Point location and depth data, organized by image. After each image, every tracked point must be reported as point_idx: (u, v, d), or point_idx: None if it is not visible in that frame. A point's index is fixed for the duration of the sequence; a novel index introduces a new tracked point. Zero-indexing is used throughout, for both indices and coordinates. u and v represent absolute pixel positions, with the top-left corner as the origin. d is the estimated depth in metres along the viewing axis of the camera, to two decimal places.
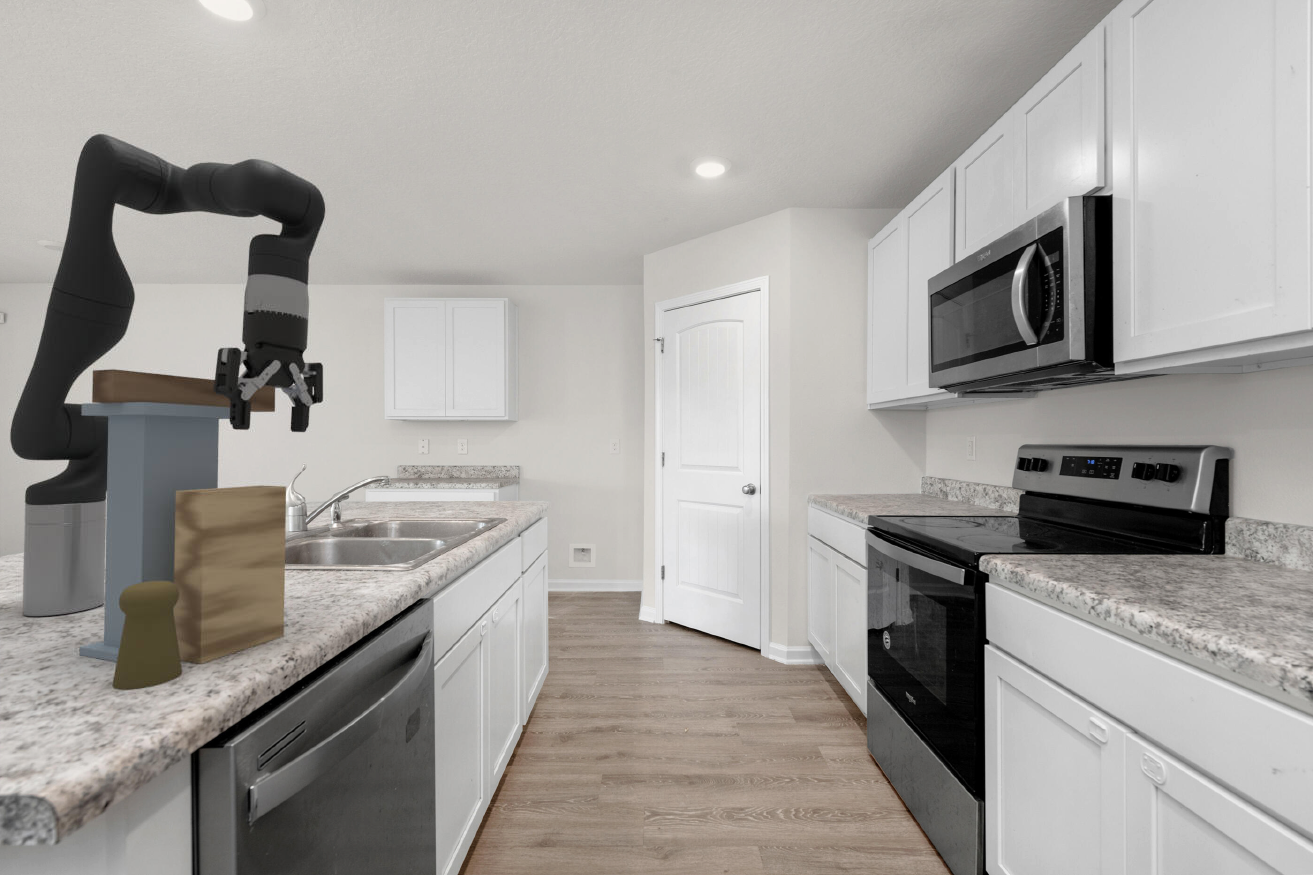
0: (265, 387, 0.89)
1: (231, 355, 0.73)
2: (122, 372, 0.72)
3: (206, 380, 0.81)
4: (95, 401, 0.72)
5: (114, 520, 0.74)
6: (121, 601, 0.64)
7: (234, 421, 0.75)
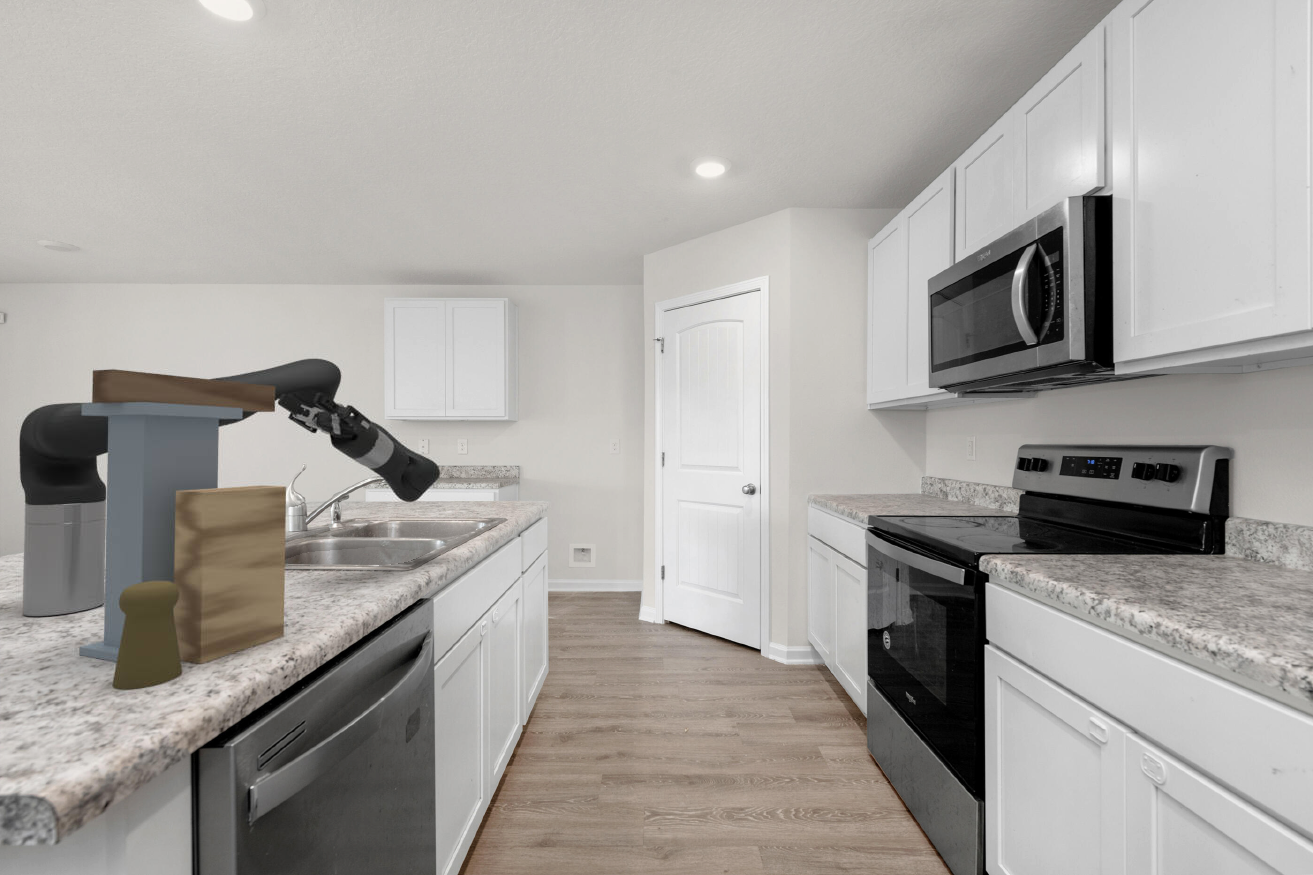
0: (265, 387, 0.89)
1: (363, 430, 1.07)
2: (122, 372, 0.72)
3: (206, 380, 0.81)
4: (95, 401, 0.72)
5: (114, 520, 0.74)
6: (121, 601, 0.64)
7: (325, 400, 1.01)
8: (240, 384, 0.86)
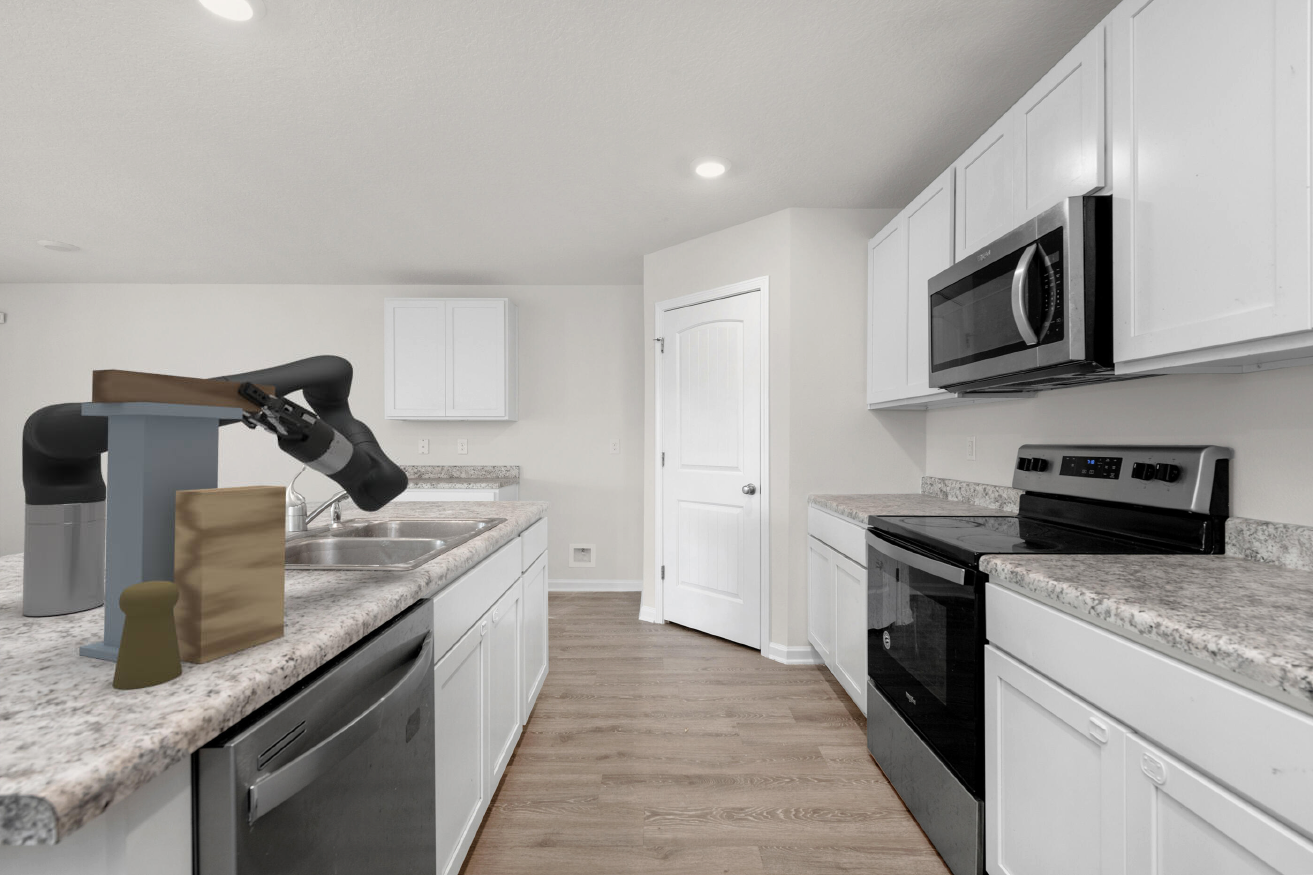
0: (265, 387, 0.89)
1: (305, 424, 0.91)
2: (122, 372, 0.72)
3: (206, 380, 0.81)
4: (95, 401, 0.72)
5: (114, 520, 0.74)
6: (121, 601, 0.64)
7: (252, 390, 0.86)
8: (240, 384, 0.86)
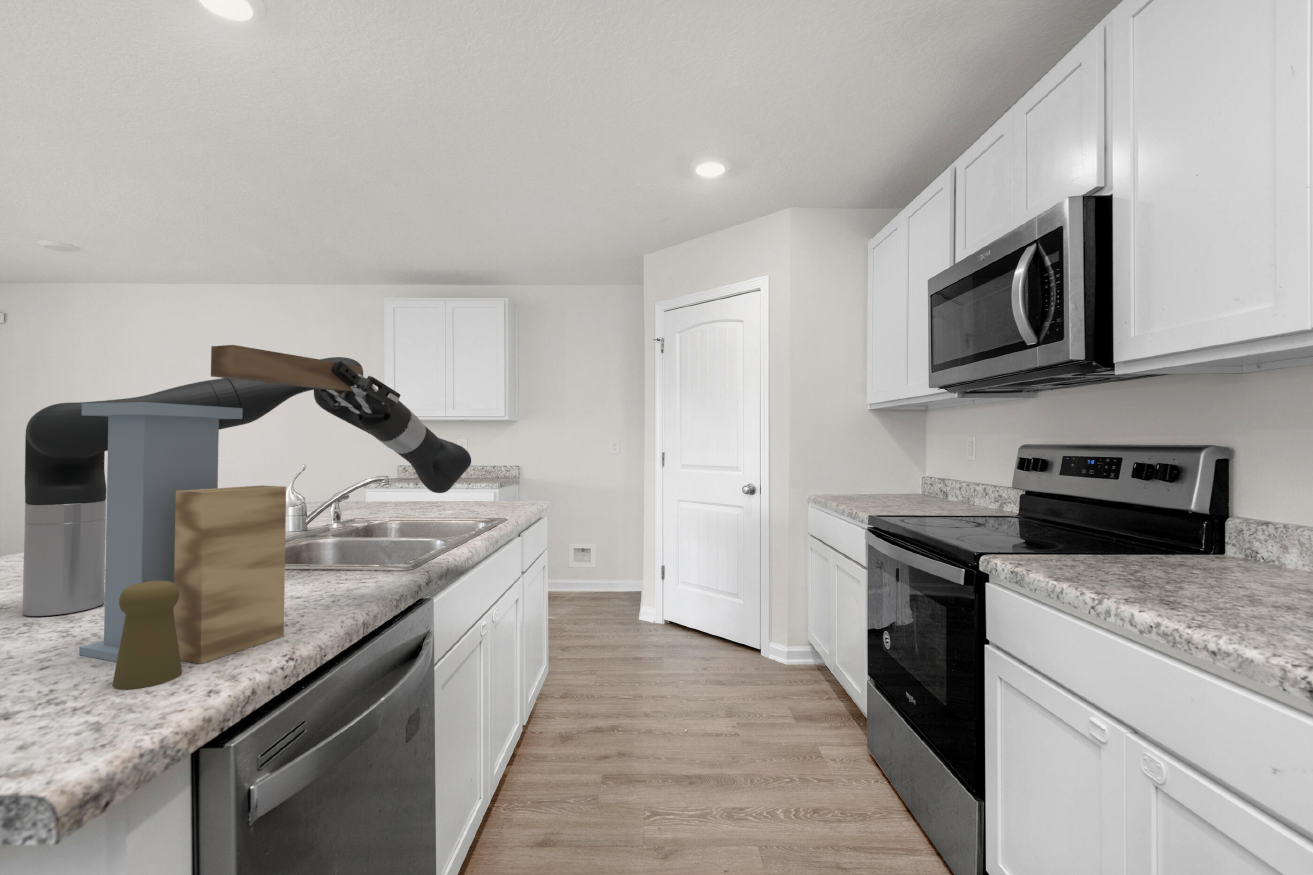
0: (354, 367, 0.94)
1: (390, 403, 0.95)
2: (240, 348, 0.76)
3: (306, 358, 0.85)
4: (214, 375, 0.76)
5: (114, 520, 0.74)
6: (121, 601, 0.64)
7: (344, 369, 0.90)
8: (334, 363, 0.90)
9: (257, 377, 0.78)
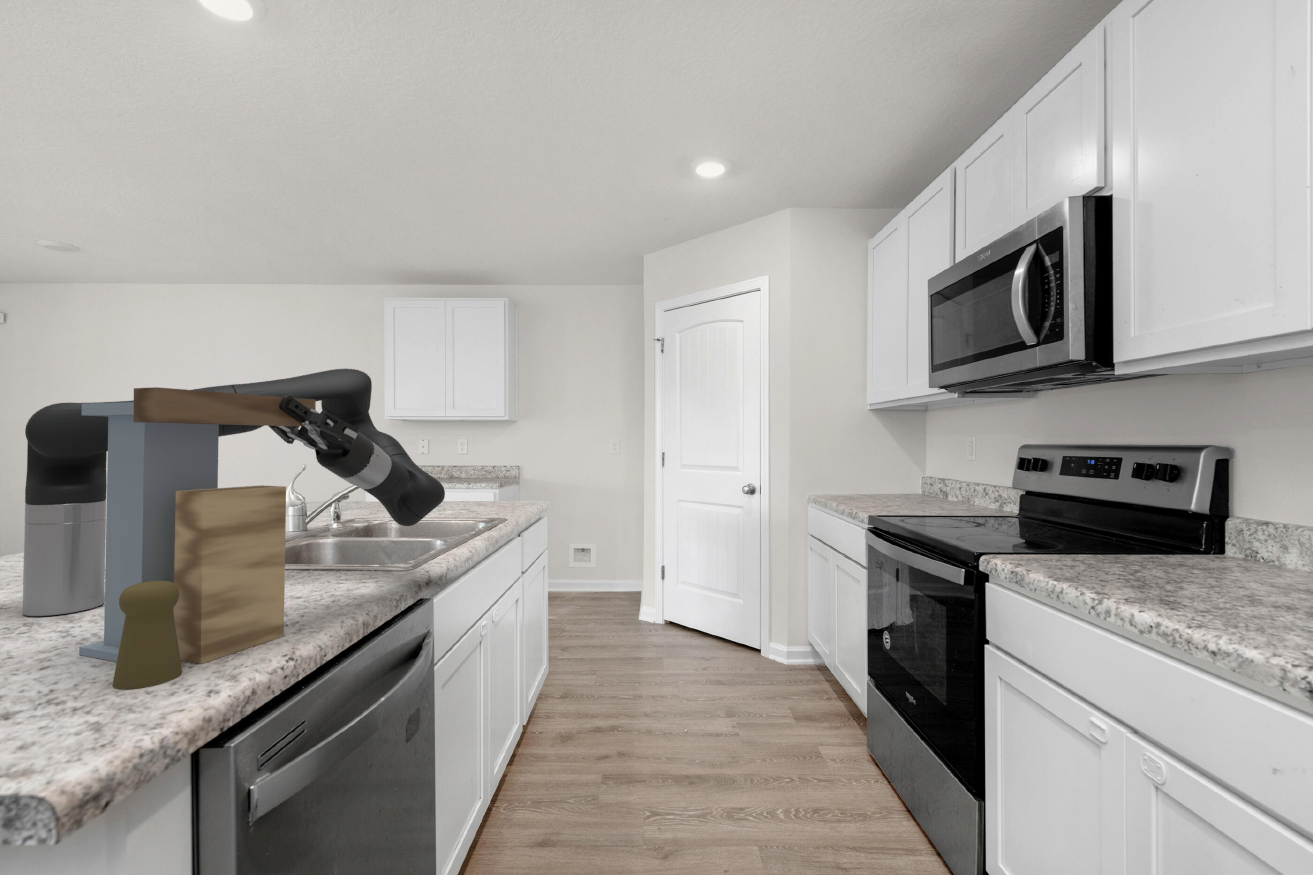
0: (306, 401, 0.85)
1: (347, 439, 0.87)
2: (165, 390, 0.68)
3: (248, 395, 0.77)
4: (137, 421, 0.68)
5: (114, 520, 0.74)
6: (121, 601, 0.64)
7: (293, 405, 0.82)
8: (281, 398, 0.82)
9: (188, 421, 0.70)
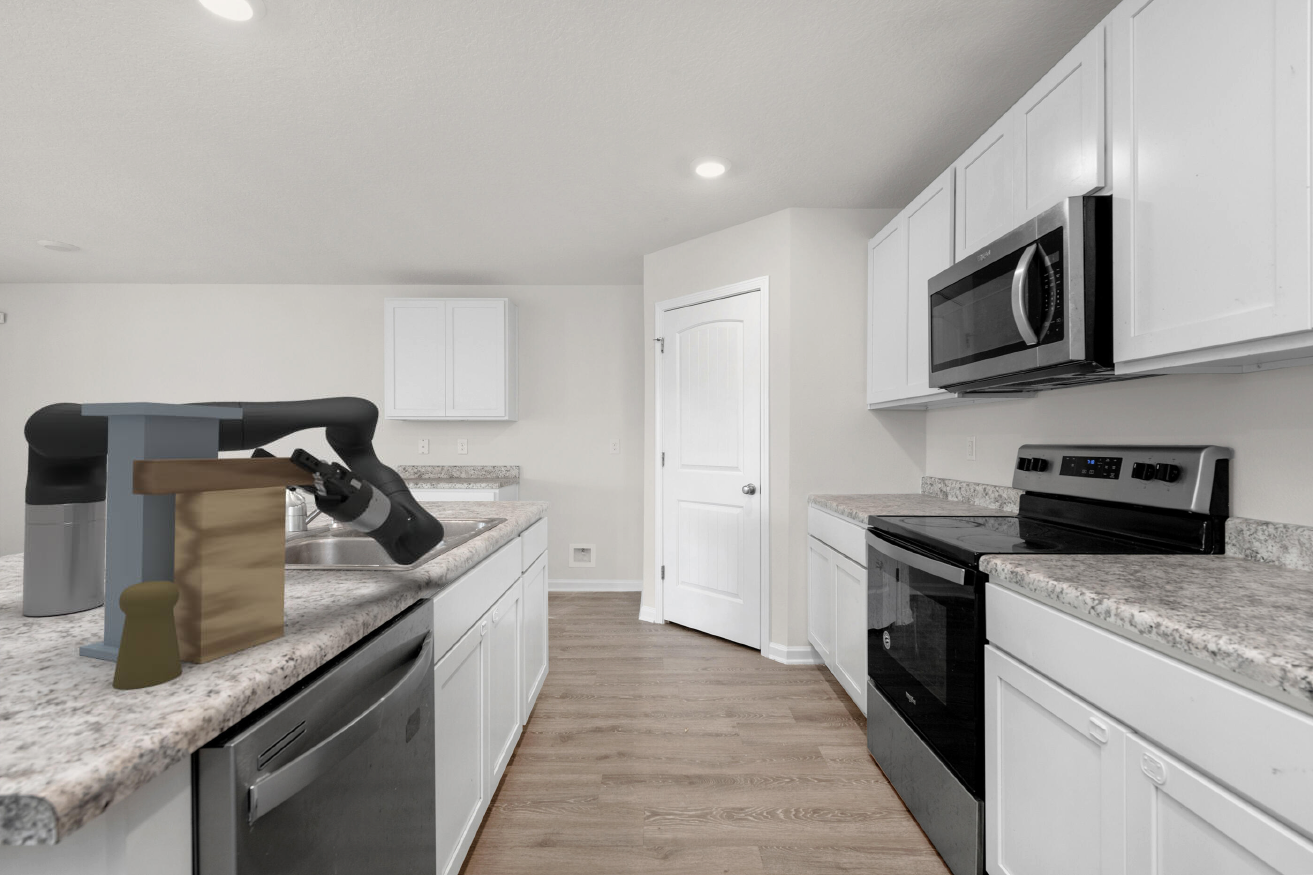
0: None
1: (353, 490, 0.87)
2: (164, 462, 0.68)
3: (247, 460, 0.77)
4: (135, 493, 0.68)
5: (114, 520, 0.74)
6: (121, 601, 0.64)
7: (304, 457, 0.82)
8: (281, 460, 0.82)
9: (186, 491, 0.70)
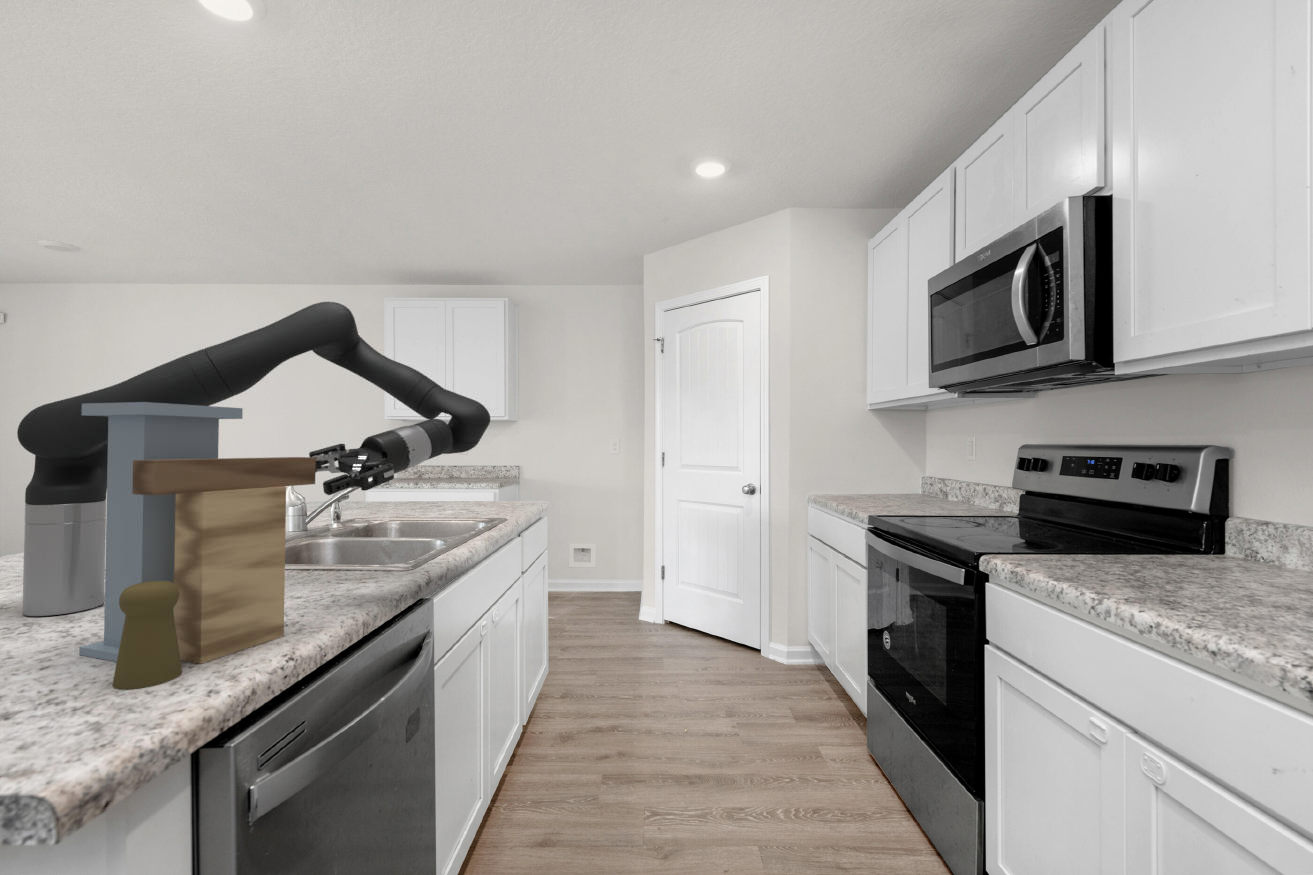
0: (306, 459, 0.85)
1: (390, 479, 0.95)
2: (164, 462, 0.68)
3: (247, 460, 0.77)
4: (135, 493, 0.68)
5: (114, 520, 0.74)
6: (121, 601, 0.64)
7: (335, 488, 0.89)
8: (281, 460, 0.82)
9: (186, 491, 0.70)
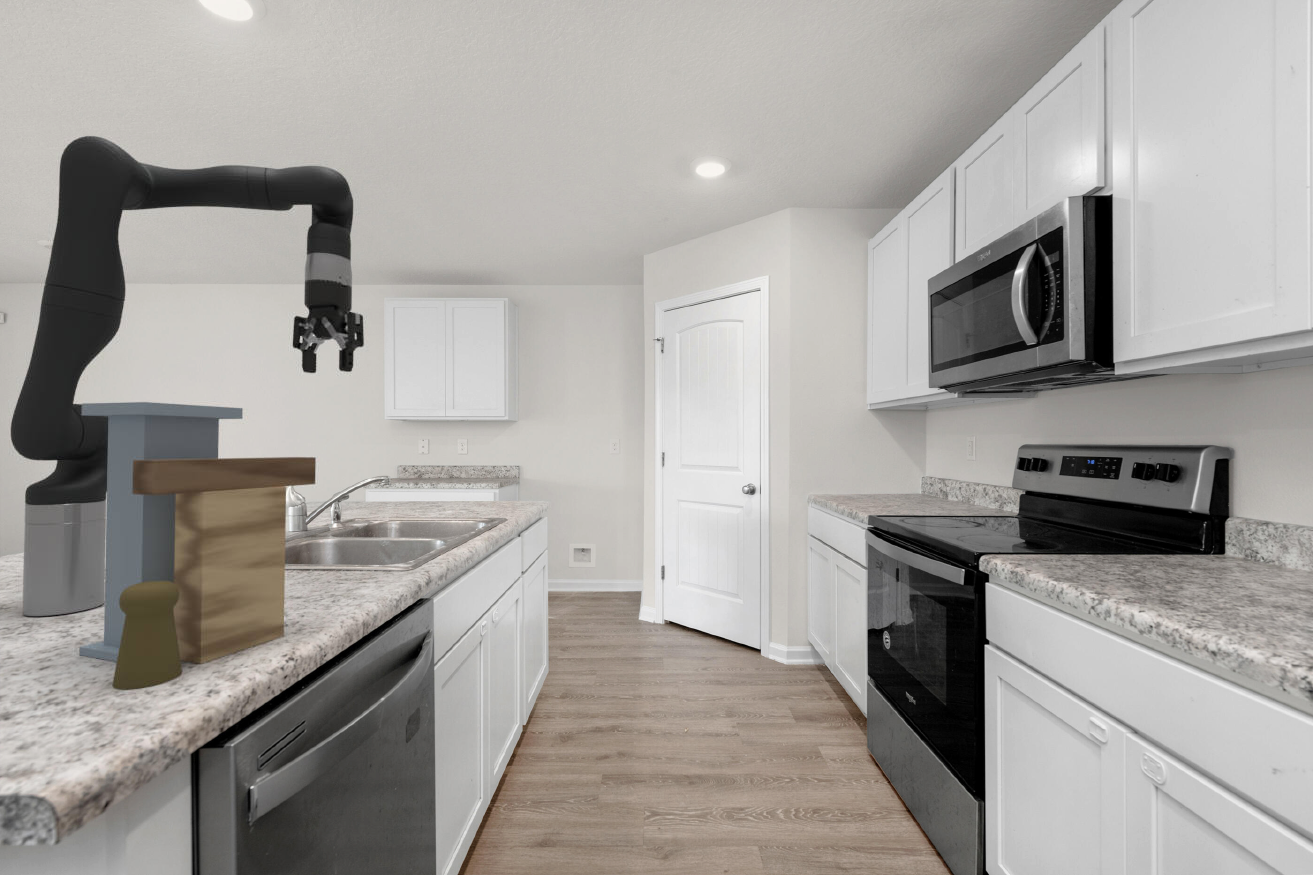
0: (306, 459, 0.85)
1: (362, 320, 1.05)
2: (164, 462, 0.68)
3: (247, 460, 0.77)
4: (135, 493, 0.68)
5: (114, 520, 0.74)
6: (121, 601, 0.64)
7: (350, 365, 1.04)
8: (281, 460, 0.82)
9: (186, 491, 0.70)
